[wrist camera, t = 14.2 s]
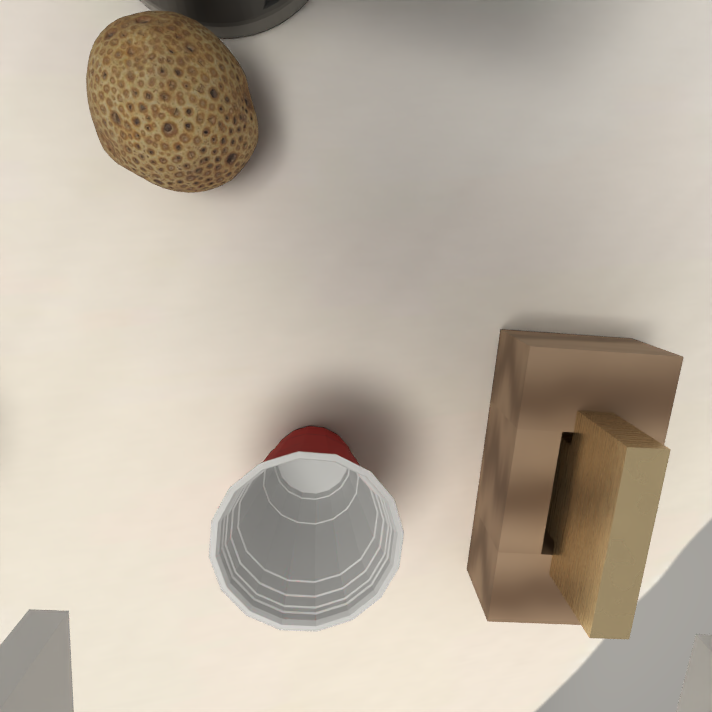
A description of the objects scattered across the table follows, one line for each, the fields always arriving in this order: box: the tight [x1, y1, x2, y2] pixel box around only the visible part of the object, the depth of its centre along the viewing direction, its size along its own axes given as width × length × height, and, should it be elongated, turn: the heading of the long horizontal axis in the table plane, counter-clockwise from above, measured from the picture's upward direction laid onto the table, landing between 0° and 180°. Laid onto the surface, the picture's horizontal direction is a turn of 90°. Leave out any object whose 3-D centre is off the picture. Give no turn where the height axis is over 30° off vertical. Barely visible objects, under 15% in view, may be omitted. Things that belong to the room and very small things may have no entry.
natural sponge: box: [86, 11, 258, 193], centre depth 30 cm, size 9×9×10 cm
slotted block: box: [467, 329, 683, 625], centre depth 39 cm, size 20×10×6 cm, turn 176°
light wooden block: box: [545, 411, 670, 639], centre depth 35 cm, size 12×2×11 cm, turn 176°
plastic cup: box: [209, 426, 404, 631], centre depth 35 cm, size 11×11×12 cm
